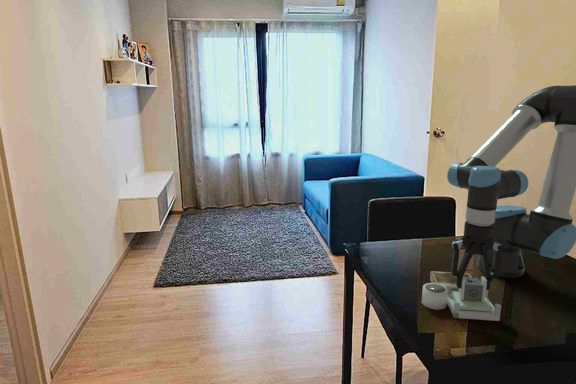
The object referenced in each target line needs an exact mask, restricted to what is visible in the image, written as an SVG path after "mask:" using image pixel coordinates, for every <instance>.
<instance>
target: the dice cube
mask: <svg viewBox="0 0 576 384" xmlns="http://www.w3.org/2000/svg"><path fill="white" fill-rule="evenodd" d="M464 278H465V279H466V281H465V290H464V301H481V302H482V292H483V284H482V283H481V279H479V278H478V277H472V278H469V277H464Z"/></svg>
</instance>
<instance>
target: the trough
mask: <svg viewBox="0 0 576 384" xmlns="http://www.w3.org/2000/svg"><path fill="white" fill-rule="evenodd" d="M429 274H430V275H429V281H430V283H436V284H440V285H443V286H445V287H446V284H450V285H451V289H450V293H452V291H456V292H459V288H457V286H456V279H457V277H456V276H453V275H452V273H451V271H435V270H432V271H431V270H430V273H429ZM464 277H469V278H473V277H472V275H471V273H467V272H465V274H464Z"/></svg>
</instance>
